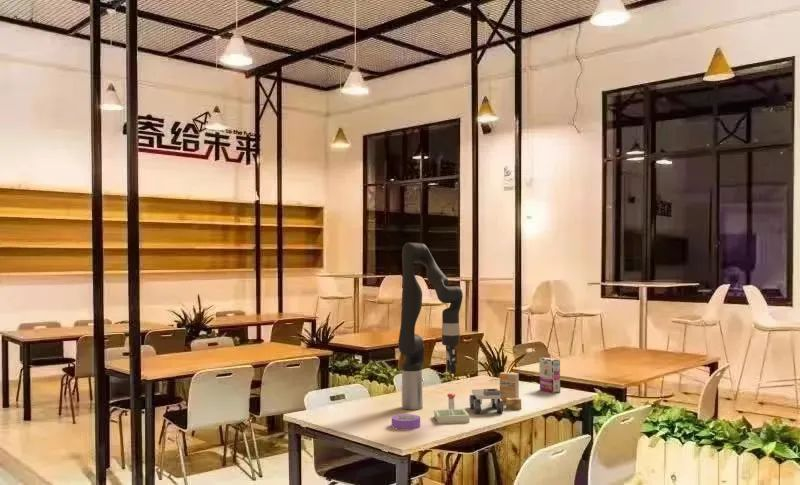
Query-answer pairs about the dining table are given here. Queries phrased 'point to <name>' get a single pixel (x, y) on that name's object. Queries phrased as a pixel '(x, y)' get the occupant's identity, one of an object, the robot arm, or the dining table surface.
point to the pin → (451, 403)
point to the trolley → (486, 394)
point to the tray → (451, 416)
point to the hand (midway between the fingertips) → (451, 372)
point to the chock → (513, 403)
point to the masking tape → (406, 421)
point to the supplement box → (509, 385)
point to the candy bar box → (549, 375)
